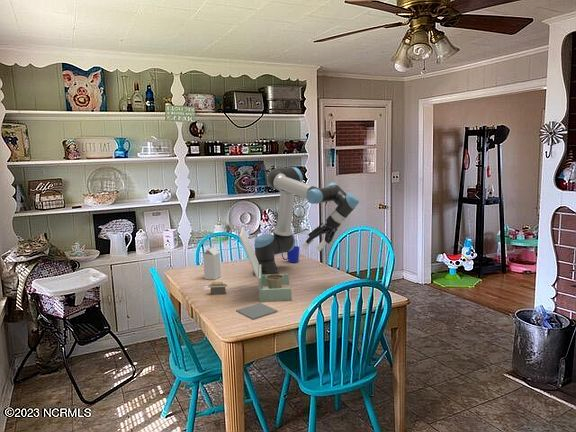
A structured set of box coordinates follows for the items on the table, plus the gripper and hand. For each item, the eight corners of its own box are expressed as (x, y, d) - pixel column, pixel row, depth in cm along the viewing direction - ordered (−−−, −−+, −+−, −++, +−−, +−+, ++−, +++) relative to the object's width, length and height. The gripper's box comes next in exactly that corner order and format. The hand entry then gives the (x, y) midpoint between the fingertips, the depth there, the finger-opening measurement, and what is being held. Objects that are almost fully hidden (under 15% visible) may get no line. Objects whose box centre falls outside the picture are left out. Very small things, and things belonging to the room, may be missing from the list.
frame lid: (243, 226, 241) (242, 227, 241) (240, 236, 215) (239, 236, 215) (258, 262, 245) (257, 263, 245) (257, 276, 219) (256, 277, 219)
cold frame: (288, 283, 248) (288, 263, 246) (291, 300, 222) (291, 277, 220) (259, 285, 247) (259, 264, 245) (259, 301, 221) (258, 278, 219)
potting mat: (236, 311, 209) (236, 310, 209) (260, 304, 217) (260, 302, 217) (253, 319, 198) (253, 318, 198) (277, 311, 207) (277, 310, 207)
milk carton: (220, 276, 266) (219, 245, 263) (215, 280, 259) (213, 248, 256) (210, 275, 268) (208, 245, 265) (204, 279, 261) (202, 247, 258)
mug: (281, 260, 298) (280, 246, 296) (298, 259, 299) (298, 245, 297) (282, 264, 290) (281, 249, 288) (300, 263, 291) (299, 248, 289)
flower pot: (281, 295, 229) (281, 279, 227) (264, 295, 231) (263, 279, 229) (285, 289, 238) (285, 274, 236) (268, 289, 240) (268, 273, 238)
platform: (203, 291, 241) (202, 279, 240) (236, 289, 242) (235, 278, 241) (199, 298, 229) (198, 286, 228) (234, 297, 230) (233, 285, 229)
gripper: (327, 220, 220) (301, 251, 226) (351, 227, 240) (327, 255, 246) (318, 210, 224) (293, 241, 230) (343, 218, 244) (319, 246, 250)
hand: (311, 248), depth 238 cm, fingers open, 13 cm apart
